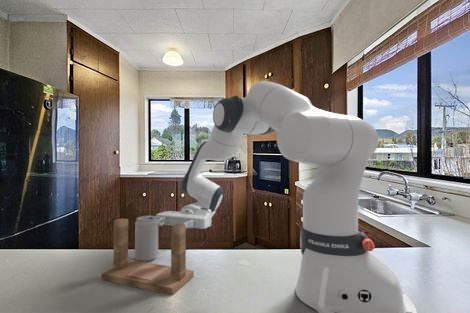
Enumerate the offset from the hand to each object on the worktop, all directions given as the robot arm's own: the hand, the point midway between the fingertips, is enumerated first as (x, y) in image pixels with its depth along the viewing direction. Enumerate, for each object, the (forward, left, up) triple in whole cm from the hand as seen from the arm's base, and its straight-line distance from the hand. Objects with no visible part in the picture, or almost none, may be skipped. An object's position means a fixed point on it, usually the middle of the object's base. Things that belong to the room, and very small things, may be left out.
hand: (170, 224), depth 86 cm
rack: (-9, +22, -7) cm, 25 cm away
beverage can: (0, +12, -7) cm, 14 cm away
